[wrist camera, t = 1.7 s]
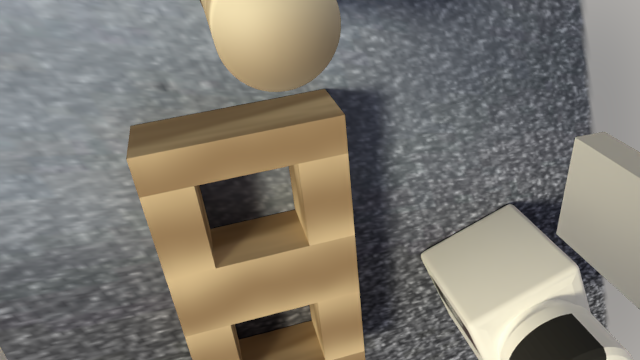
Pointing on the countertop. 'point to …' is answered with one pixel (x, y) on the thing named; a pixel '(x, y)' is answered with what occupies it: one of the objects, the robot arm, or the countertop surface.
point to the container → (517, 293)
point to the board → (255, 228)
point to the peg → (274, 39)
